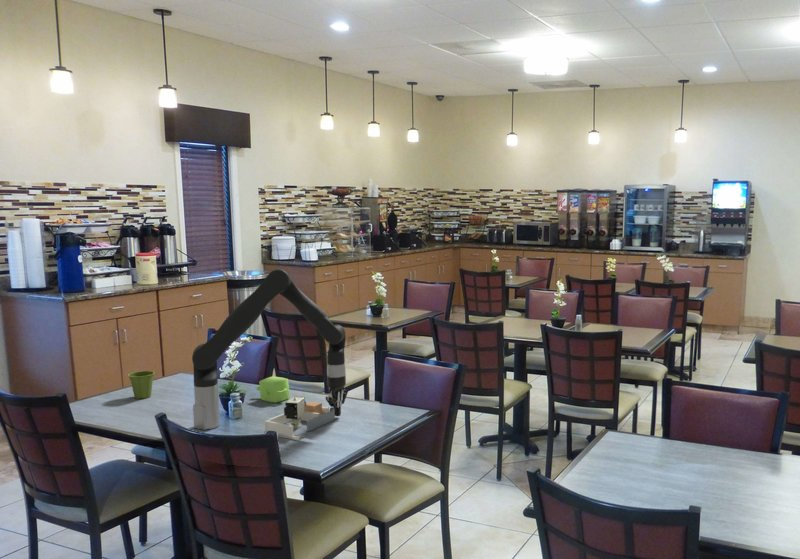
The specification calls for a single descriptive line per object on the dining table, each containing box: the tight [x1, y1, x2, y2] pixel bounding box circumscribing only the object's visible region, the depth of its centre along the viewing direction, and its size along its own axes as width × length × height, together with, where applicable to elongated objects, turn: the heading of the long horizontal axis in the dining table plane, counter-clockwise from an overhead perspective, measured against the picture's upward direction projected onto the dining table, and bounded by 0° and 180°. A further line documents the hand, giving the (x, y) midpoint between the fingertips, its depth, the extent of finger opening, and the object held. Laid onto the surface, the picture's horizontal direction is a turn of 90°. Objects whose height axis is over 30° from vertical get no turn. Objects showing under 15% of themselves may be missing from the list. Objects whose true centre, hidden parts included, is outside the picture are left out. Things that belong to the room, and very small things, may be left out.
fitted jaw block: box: [305, 401, 323, 415], centre depth 280 cm, size 5×5×6 cm
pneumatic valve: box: [283, 396, 307, 429], centre depth 269 cm, size 6×12×12 cm, turn 167°
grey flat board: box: [306, 407, 336, 432], centre depth 271 cm, size 17×1×5 cm, turn 149°
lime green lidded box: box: [256, 376, 291, 403], centre depth 313 cm, size 18×10×10 cm, turn 53°
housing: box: [264, 406, 330, 441], centre depth 273 cm, size 26×16×5 cm, turn 149°
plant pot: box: [127, 370, 156, 400], centre depth 321 cm, size 12×12×11 cm
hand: (337, 415), depth 281 cm, fingers closed
